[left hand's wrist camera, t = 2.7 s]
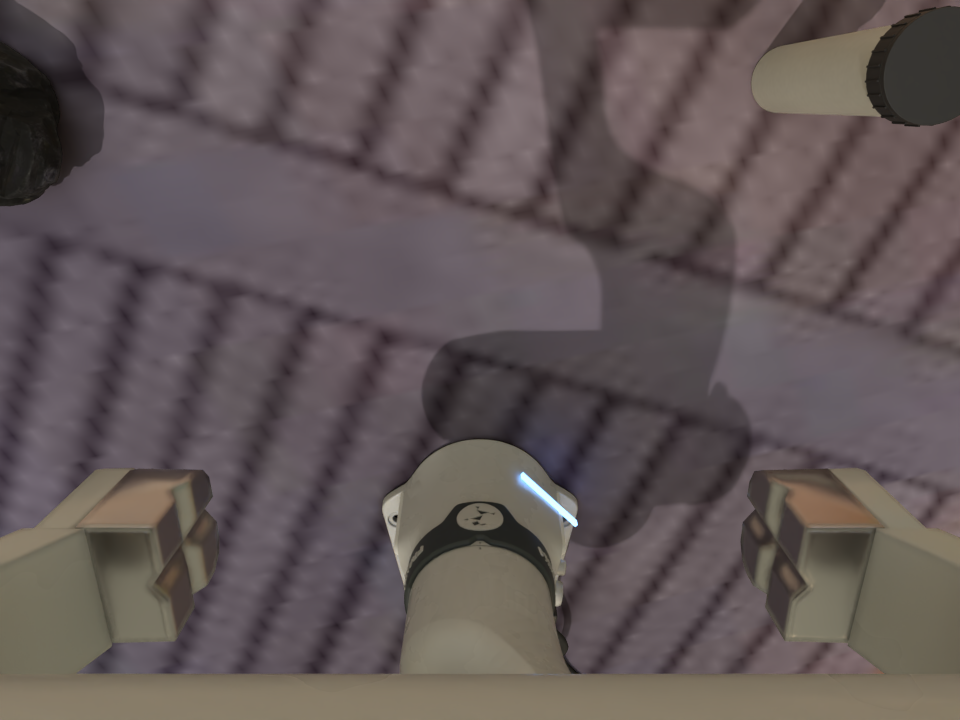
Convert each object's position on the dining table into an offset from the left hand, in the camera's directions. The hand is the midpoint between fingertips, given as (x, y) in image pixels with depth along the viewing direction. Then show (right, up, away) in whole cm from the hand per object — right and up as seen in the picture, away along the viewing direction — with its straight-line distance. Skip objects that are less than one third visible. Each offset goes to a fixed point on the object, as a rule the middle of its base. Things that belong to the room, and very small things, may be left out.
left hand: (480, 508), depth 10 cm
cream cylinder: (+23, +24, +42) cm, 54 cm away
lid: (+23, +17, +25) cm, 38 cm away
